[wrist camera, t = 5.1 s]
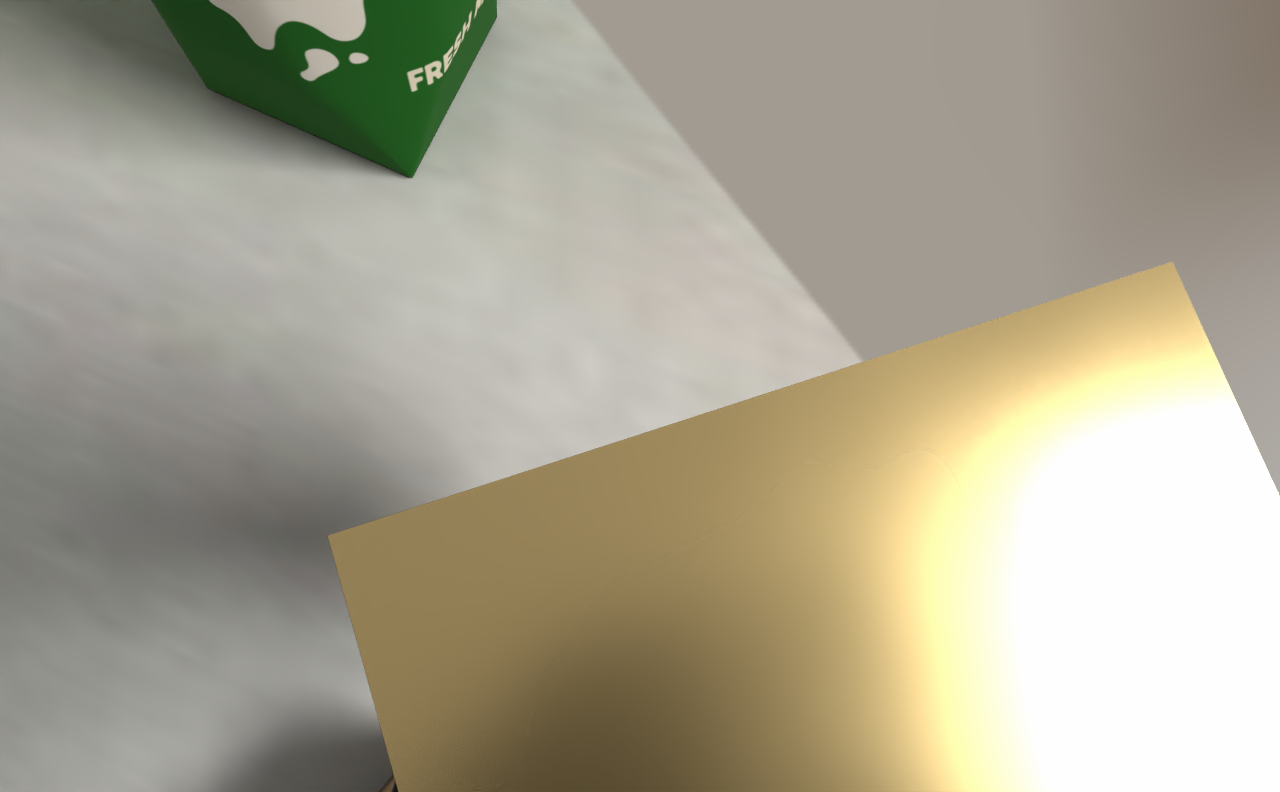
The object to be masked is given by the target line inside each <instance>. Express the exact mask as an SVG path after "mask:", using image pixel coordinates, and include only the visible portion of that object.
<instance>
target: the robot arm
mask: <svg viewBox="0 0 1280 792" xmlns="http://www.w3.org/2000/svg"><path fill="white" fill-rule="evenodd" d="M391 792H398V788H397V785H396V781H394V784H393V788H392V791H391Z"/></svg>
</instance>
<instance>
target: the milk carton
mask: <svg viewBox="0 0 1280 792" xmlns="http://www.w3.org/2000/svg"><path fill="white" fill-rule="evenodd" d="M152 2H153V3H154V5H155V7H156V8H157V10H158V11H159V13H160V15H161V16H162V18H163V19H164V21H165V22H166V24H167V26H168V27H169V29H170V30H171V32H172V34H173V35H174V37H175V38H176V40H177V41H178V43H179V44H180V46H181V48H182V49H183V51H184V52H185V54H186V55H187V57H188V58H189V60H190V61H191V63H192V65H193V66H194V68H195V69H196V71H197V72H198V74H199V75H200V77H201V78H202V80H203V82H204V83H205V85H206V87H207V88H209V89H210V90H213V91H215V92H217V93H220V94H222V95H224V96H226V97H229V98H231V99H233V100H235V101H238V102H240V103H242V104H245V105H247V106H249V107H251V108H254V109H256V110H258V111H260V112H263V113H265V114H267V115H270V116H272V117H274V118H276V119H279V120H281V121H283V122H285V123H288V124H290V125H292V126H294V127H297V128H299V129H301V130H304V131H306V132H308V133H310V134H313V135H315V136H317V137H319V138H322V139H324V140H326V141H329V142H331V143H333V144H335V145H338V146H340V147H342V148H344V149H347V150H349V151H351V152H353V153H356V154H358V155H360V156H363V157H365V158H367V159H369V160H372V161H374V162H376V163H378V164H381V165H383V166H385V167H387V168H390V169H392V170H394V171H397V172H399V173H401V174H403V175H406V176H408V177H410V178H412V177H413V176H414V174H415V172H416V170H417V168H418V166H419V164H420V162H421V160H422V159H423V157H424V155H425V153H426V151H427V149H428V147H429V145H430V143H431V141H432V140H433V138H434V136H435V134H436V132H437V130H438V128H439V126H440V124H441V122H442V121H443V119H444V117H445V115H446V113H447V111H448V109H449V107H450V105H451V103H452V101H453V100H454V98H455V96H456V94H457V92H458V90H459V88H460V86H461V84H462V82H463V81H464V79H465V77H466V75H467V73H468V71H469V69H470V67H471V65H472V63H473V62H474V60H475V58H476V56H477V54H478V52H479V50H480V48H481V46H482V44H483V43H484V41H485V39H486V37H487V35H488V33H489V31H490V29H491V27H492V25H493V24H494V22H495V20H496V18H497V0H152Z"/></svg>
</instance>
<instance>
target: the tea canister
mask: <svg viewBox="0 0 1280 792" xmlns="http://www.w3.org/2000/svg"><path fill="white" fill-rule="evenodd" d="M328 539H329V542H330V546H331V550H332V553H333V557H334V561H335V564H336V568H337V571H338V575H339V579H340V582H341V586H342V589H343V593H344V597H345V600H346V604H347V608H348V611H349V615H350V618H351V622H352V626H353V629H354V633H355V637H356V640H357V644H358V647H359V651H360V655H361V658H362V662H363V665H364V669H365V673H366V676H367V680H368V684H369V687H370V691H371V694H372V698H373V702H374V705H375V709H376V712H377V716H378V720H379V723H380V727H381V731H382V734H383V738H384V741H385V745H386V749H387V752H388V756H389V759H390V763H391V767H392V770H393V774H394V778H395V781H396V785H397V788H398V792H1280V497H1279V495H1278V493H1277V490H1276V488H1275V486H1274V484H1273V482H1272V479H1271V477H1270V475H1269V473H1268V471H1267V468H1266V466H1265V464H1264V462H1263V460H1262V458H1261V455H1260V453H1259V451H1258V449H1257V446H1256V444H1255V442H1254V440H1253V438H1252V435H1251V434H1250V431H1249V429H1248V427H1247V424H1246V422H1245V420H1244V418H1243V416H1242V413H1241V411H1240V409H1239V407H1238V405H1237V403H1236V400H1235V398H1234V396H1233V394H1232V392H1231V389H1230V387H1229V385H1228V383H1227V381H1226V378H1225V376H1224V374H1223V372H1222V370H1221V367H1220V365H1219V363H1218V361H1217V359H1216V356H1215V354H1214V352H1213V350H1212V348H1211V345H1210V343H1209V341H1208V339H1207V337H1206V334H1205V332H1204V330H1203V328H1202V326H1201V323H1200V321H1199V319H1198V317H1197V315H1196V312H1195V310H1194V308H1193V306H1192V304H1191V302H1190V299H1189V297H1188V295H1187V293H1186V290H1185V288H1184V286H1183V284H1182V282H1181V279H1180V277H1179V275H1178V273H1177V271H1176V268H1175V267H1174V264H1173V262H1170V263H1167V264H1164V265H1161V266H1158V267H1155V268H1152V269H1149V270H1145V271H1142V272H1139V273H1136V274H1133V275H1130V276H1127V277H1124V278H1121V279H1118V280H1114V281H1111V282H1108V283H1105V284H1102V285H1099V286H1096V287H1093V288H1090V289H1087V290H1084V291H1081V292H1077V293H1075V294H1071V295H1068V296H1065V297H1062V298H1059V299H1056V300H1053V301H1050V302H1047V303H1044V304H1041V305H1038V306H1034V307H1031V308H1028V309H1025V310H1022V311H1019V312H1016V313H1013V314H1010V315H1007V316H1003V317H1000V318H997V319H994V320H991V321H988V322H985V323H982V324H979V325H976V326H973V327H970V328H967V329H963V330H960V331H957V332H954V333H951V334H948V335H945V336H942V337H939V338H936V339H933V340H930V341H926V342H923V343H920V344H917V345H914V346H911V347H908V348H905V349H902V350H899V351H895V352H893V353H889V354H886V355H883V356H880V357H877V358H874V359H871V360H868V361H865V362H862V363H858V364H855V365H852V366H849V367H846V368H843V369H840V370H837V371H834V372H831V373H828V374H825V375H821V376H818V377H815V378H812V379H809V380H806V381H803V382H800V383H797V384H794V385H791V386H788V387H784V388H781V389H778V390H775V391H772V392H769V393H766V394H763V395H760V396H757V397H754V398H751V399H747V400H744V401H741V402H738V403H735V404H732V405H729V406H726V407H723V408H720V409H717V410H714V411H710V412H707V413H704V414H701V415H698V416H695V417H692V418H689V419H686V420H683V421H680V422H677V423H673V424H670V425H667V426H664V427H661V428H658V429H655V430H652V431H649V432H646V433H643V434H640V435H636V436H633V437H630V438H627V439H624V440H621V441H618V442H615V443H612V444H609V445H606V446H603V447H599V448H596V449H593V450H590V451H587V452H584V453H581V454H578V455H575V456H572V457H569V458H565V459H562V460H559V461H556V462H553V463H550V464H547V465H544V466H541V467H538V468H535V469H532V470H528V471H525V472H522V473H519V474H516V475H513V476H510V477H507V478H504V479H501V480H498V481H495V482H491V483H488V484H485V485H482V486H479V487H476V488H473V489H470V490H467V491H464V492H461V493H458V494H454V495H451V496H448V497H445V498H442V499H439V500H436V501H433V502H430V503H427V504H424V505H421V506H417V507H414V508H411V509H408V510H405V511H402V512H399V513H396V514H393V515H390V516H387V517H384V518H380V519H377V520H374V521H371V522H368V523H365V524H362V525H359V526H356V527H353V528H350V529H347V530H343V531H340V532H337V533H334V534H331V535H328Z"/></svg>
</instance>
